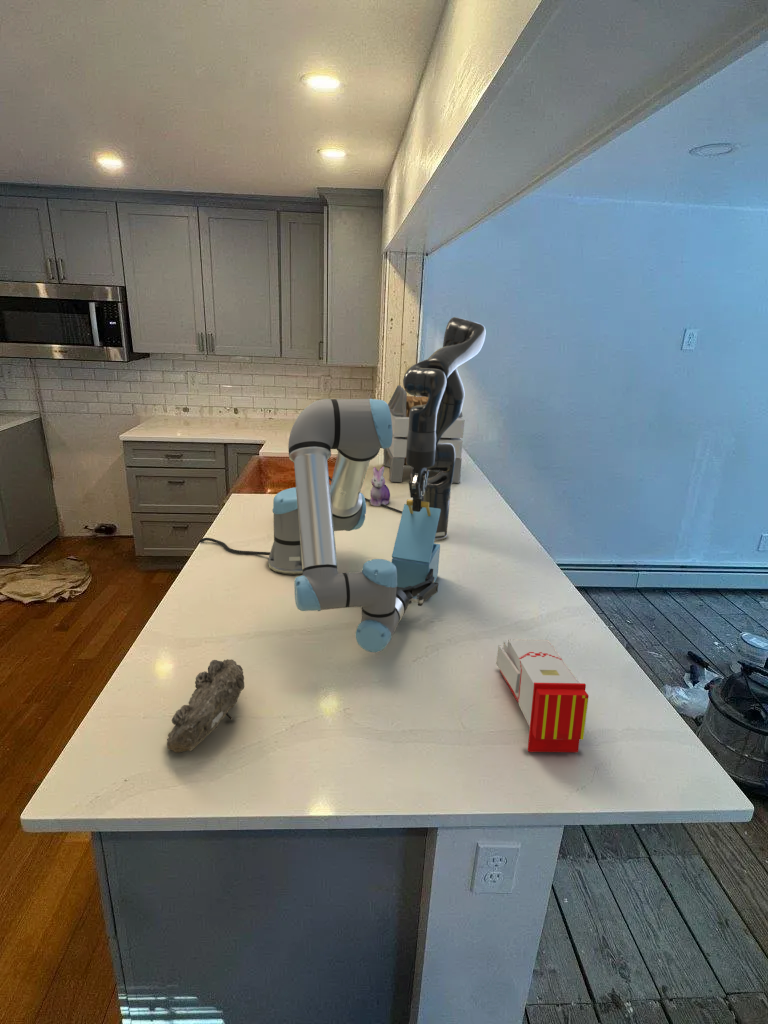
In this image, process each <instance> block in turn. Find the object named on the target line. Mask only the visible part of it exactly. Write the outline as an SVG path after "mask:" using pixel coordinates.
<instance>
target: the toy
mask: <svg viewBox="0 0 768 1024" xmlns="http://www.w3.org/2000/svg"><path fill="white" fill-rule="evenodd" d="M502 644H503V645H499V644H498V646H497V654H496V661H495V664H496V666H497V667H498V669H499V672H500V674H501V675H502V677H503V679H504V681H505V682H506V684H507V687H508V688H509V690H510V692H511V693H512V695H513V697H514V699H515V700H516V703H518V706H519V708H520V710H521V713H522V714H523V716H524V718H525V721H526V723H527V725H528V727H529V731H528V742H527V752H529V753H579V747H580V740H581V741H582V740H584V737H585V730H586V722H587V721H586V719H587V713H588V705H589V704H588V703H589V694H588V693H587V691H586V689H587V688H586V687H587V684H586V683H583V682H581V683H580V682H579V680H578V679H577V677H576V676H575V675H574V673H573V672H572V671H571V669H570V668H569V667H568V665H567V664H566V663H565V661H564V660H563V658H562V656H561V655H560V654H559V652H557V650H556V648H555V646H554V645H553V644H552V643H551V642H550V641H549V639H522V638H521V639H517V638H516V639H515V638H514V639H512V638H508V639H507V640H503V643H502Z"/></svg>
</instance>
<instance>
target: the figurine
mask: <svg viewBox="0 0 768 1024" xmlns="http://www.w3.org/2000/svg"><path fill="white" fill-rule="evenodd" d="M372 472H373V473H372V474H373V476H372V478H371V485H372V487H371V488H370V499H369V500H370V502H369V504H370V505H371V506H373V507H382V506H381V504H384V505H386V506H387V505H388V504H389V503H390V500H391V492H390V489H389V487H388V486H387V485H386V479H385V476H384V472H385V466H384V465H383V466H381V467H380V468H379V470H378V469H377V467H376V466H374V467H373V468H372Z"/></svg>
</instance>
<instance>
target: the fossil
mask: <svg viewBox="0 0 768 1024" xmlns="http://www.w3.org/2000/svg"><path fill="white" fill-rule="evenodd" d="M243 670H244V669H243V667H242V665H240V664H237V662H236V661H235V660H234V659H232V658H231V659H227V658H226V659H224V660H223V661H222V660H217V659H212V660H211V661H210V663H209V665H208V666H207V671H201V672H199V673H198V674H197V675H196V676H195V680H194V684H195V685H194V687H195V689H194V690H193V693H192V694H191V697H190V698H189V700H188V704H184V705H182V706H181V707H180V709H177V710H176V711H175V713H174V715H173V716H172V718H171V723H172V724H173V727H172V730H171V731H170V732H168V734H167V738H166V741H167V742H166V745H167V749H168V750H169V751H173V752H174V753H176V754H178V753H182V752H188V751H189V752H192V751H193V750H195V748H196V747H197V746H199V744H200V743H201V742H203V741H204V740H205V739H206V738H207V737H208V736H209V735H210V734H211V733H212V732H214V730H215V729H217V727H218V726H219V724H220V722H221V721H222V720H223V719H224V718H225V716H226V717H227V719H229V720H233V717H232V715H230V714H229V710H230V709H231V708H234V706H235V704H236V703H237V702H238V699H239V697H240V695H241V693H242V691H243V690H245V689H244V688H245V675H244V671H243Z"/></svg>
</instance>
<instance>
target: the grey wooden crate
mask: <svg viewBox="0 0 768 1024" xmlns="http://www.w3.org/2000/svg"><path fill="white" fill-rule="evenodd" d="M407 394H408V393H407V392H406V391H405V389H404V387H402V385H399V384H398V385H397V386H396V388H395V390H394V392H393V394H392V395H391V398H390V400H389V402H388V403H387V404H388V406H389V409H390V414H391V420H392V444H391V446H390V447H389V448H385V449H383V467H388V468H389V475H388V476H389V477H388V478H389V480H390V482H391V483H402V482H403V475H404V469H405V466H406V467H407V466H408V465H407V464H406V448H407V435H408V428H409V412H410V409H411V408H412V407H413V406H417V405H425V404H426V403H427V402H428V397H422V396H413V395H407ZM464 429H465V419H464V418H463V411H461V413H460V415H459V417H458V418H457V419H456V421H455V422H454V423H453V424H452V425H451V426H450V427H449V428H448V429H447V430H446V431H445V432H444V433H443V435H442V436H441V438H440V440H439V442H438V443H450V444H452V445H453V446H454V448H455V465H454V472H453V480H452V484H455V483H456V484H459V483H461V472H462V461H463V460H462V453H463V442H464V441H463V440H462V439H463V438H464V431H465V430H464Z"/></svg>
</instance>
